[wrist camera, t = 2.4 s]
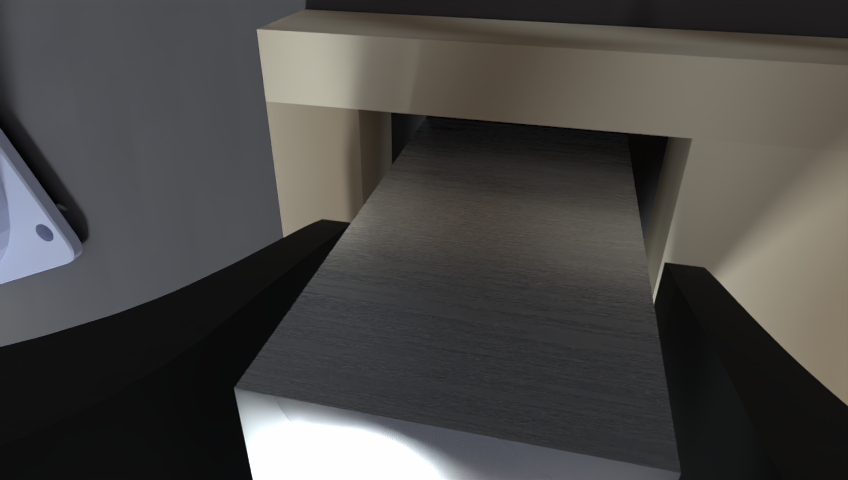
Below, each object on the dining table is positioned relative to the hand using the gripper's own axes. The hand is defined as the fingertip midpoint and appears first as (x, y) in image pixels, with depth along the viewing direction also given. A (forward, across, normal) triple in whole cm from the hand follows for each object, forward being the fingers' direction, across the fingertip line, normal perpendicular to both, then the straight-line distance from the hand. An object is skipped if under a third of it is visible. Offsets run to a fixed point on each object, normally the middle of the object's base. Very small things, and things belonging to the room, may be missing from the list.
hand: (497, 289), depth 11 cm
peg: (+3, 0, 0) cm, 3 cm away
